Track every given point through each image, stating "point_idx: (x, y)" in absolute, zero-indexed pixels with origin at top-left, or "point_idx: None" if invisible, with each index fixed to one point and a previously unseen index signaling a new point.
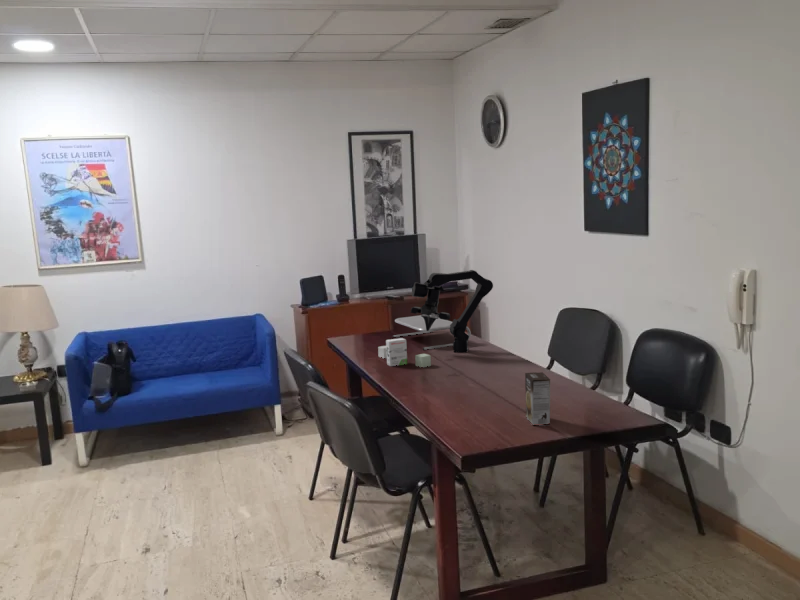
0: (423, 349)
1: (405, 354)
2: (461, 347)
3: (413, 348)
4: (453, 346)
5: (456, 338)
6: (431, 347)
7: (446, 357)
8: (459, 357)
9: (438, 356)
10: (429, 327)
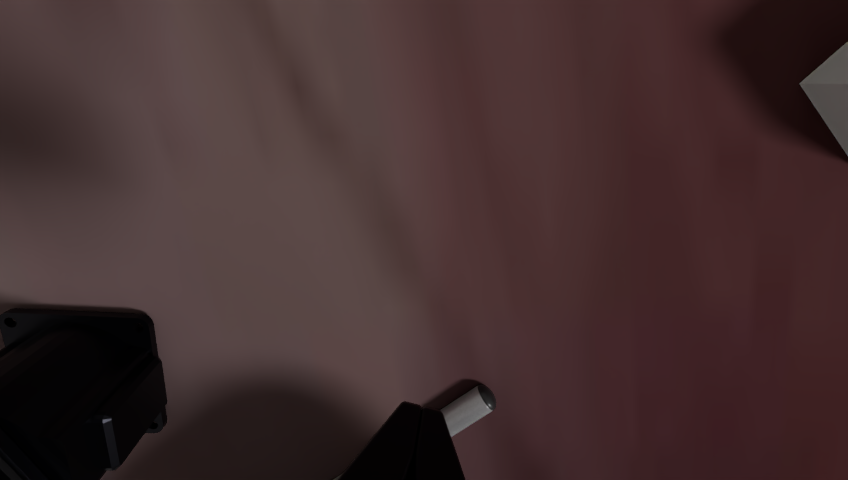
0: (485, 386)
1: None
2: (24, 348)
3: (585, 434)
4: (136, 381)
5: (29, 465)
6: None
7: (162, 89)
8: (3, 98)
9: (272, 134)
10: (355, 461)
